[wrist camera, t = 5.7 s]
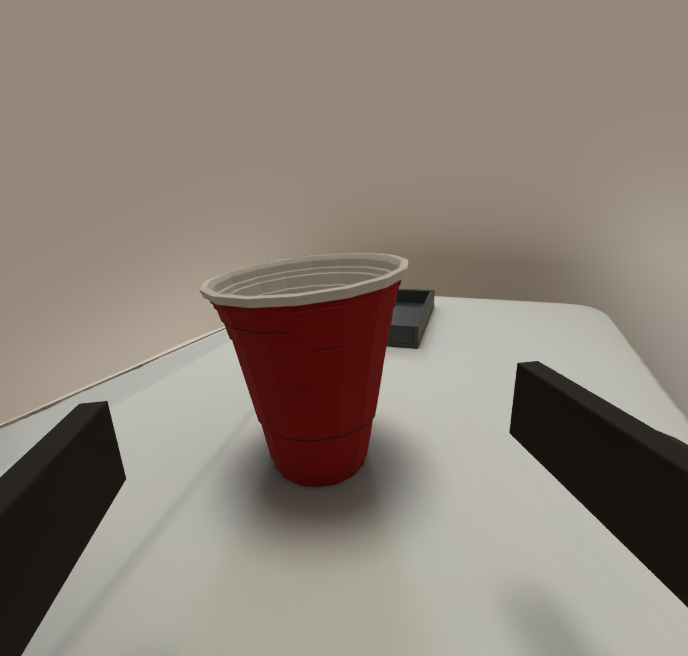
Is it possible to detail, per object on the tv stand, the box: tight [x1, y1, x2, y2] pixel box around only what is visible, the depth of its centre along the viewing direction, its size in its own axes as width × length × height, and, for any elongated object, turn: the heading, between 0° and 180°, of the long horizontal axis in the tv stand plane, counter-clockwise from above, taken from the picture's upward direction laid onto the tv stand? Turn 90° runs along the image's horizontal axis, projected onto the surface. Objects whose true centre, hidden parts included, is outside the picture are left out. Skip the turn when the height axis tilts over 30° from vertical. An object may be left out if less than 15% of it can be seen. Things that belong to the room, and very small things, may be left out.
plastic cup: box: [199, 253, 408, 486], centre depth 22 cm, size 11×11×12 cm
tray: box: [386, 289, 434, 348], centre depth 52 cm, size 21×19×2 cm
